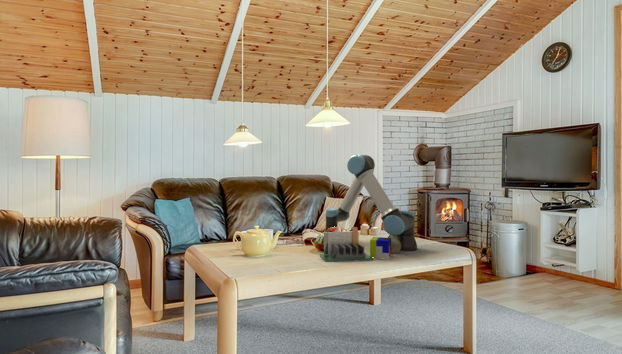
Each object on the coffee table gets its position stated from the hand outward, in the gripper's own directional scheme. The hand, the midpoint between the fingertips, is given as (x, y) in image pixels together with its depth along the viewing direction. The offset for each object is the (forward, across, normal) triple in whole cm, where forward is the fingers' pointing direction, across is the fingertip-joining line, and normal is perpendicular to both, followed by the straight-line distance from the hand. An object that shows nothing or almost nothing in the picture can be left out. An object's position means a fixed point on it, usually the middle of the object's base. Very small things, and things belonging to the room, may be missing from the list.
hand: (344, 243), depth 233 cm
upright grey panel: (+1, +2, -6) cm, 6 cm away
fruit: (-4, -30, -7) cm, 31 cm away
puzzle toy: (+6, -19, -7) cm, 21 cm away
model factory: (+6, +1, -7) cm, 9 cm away
